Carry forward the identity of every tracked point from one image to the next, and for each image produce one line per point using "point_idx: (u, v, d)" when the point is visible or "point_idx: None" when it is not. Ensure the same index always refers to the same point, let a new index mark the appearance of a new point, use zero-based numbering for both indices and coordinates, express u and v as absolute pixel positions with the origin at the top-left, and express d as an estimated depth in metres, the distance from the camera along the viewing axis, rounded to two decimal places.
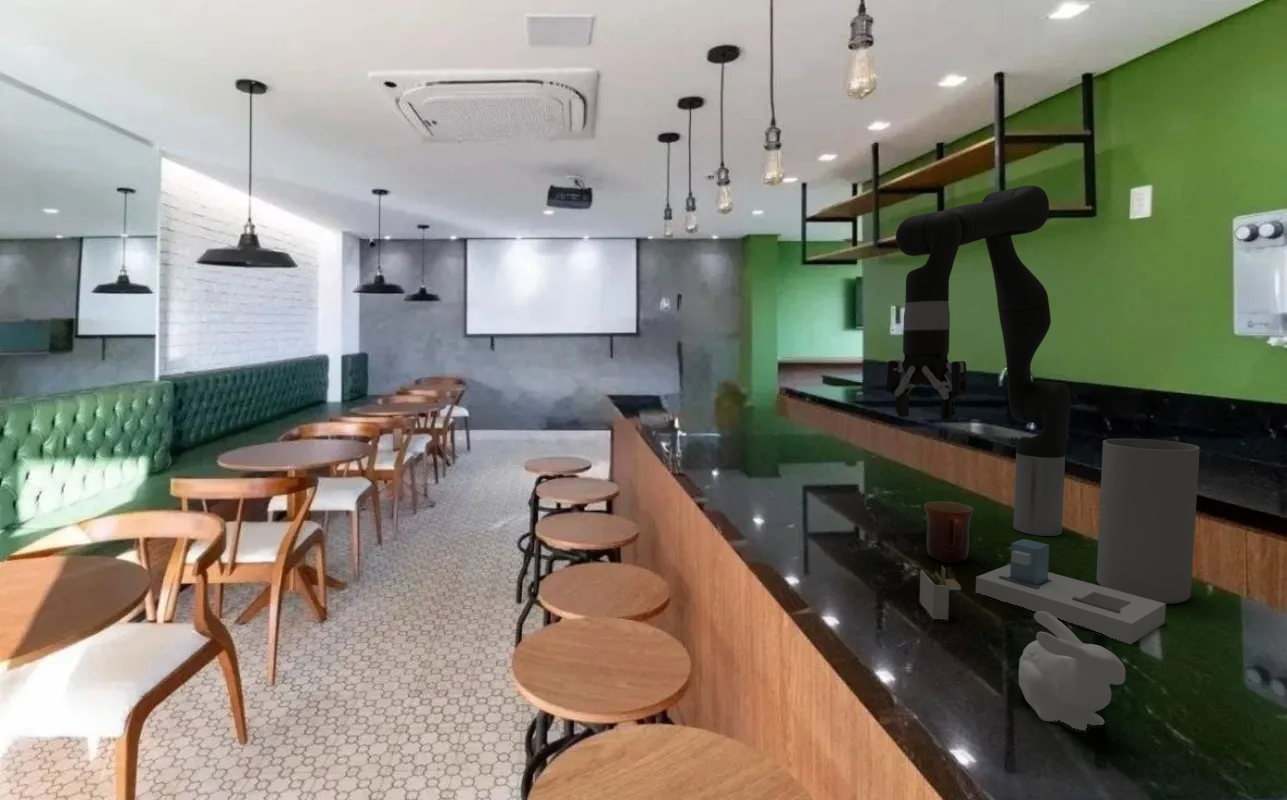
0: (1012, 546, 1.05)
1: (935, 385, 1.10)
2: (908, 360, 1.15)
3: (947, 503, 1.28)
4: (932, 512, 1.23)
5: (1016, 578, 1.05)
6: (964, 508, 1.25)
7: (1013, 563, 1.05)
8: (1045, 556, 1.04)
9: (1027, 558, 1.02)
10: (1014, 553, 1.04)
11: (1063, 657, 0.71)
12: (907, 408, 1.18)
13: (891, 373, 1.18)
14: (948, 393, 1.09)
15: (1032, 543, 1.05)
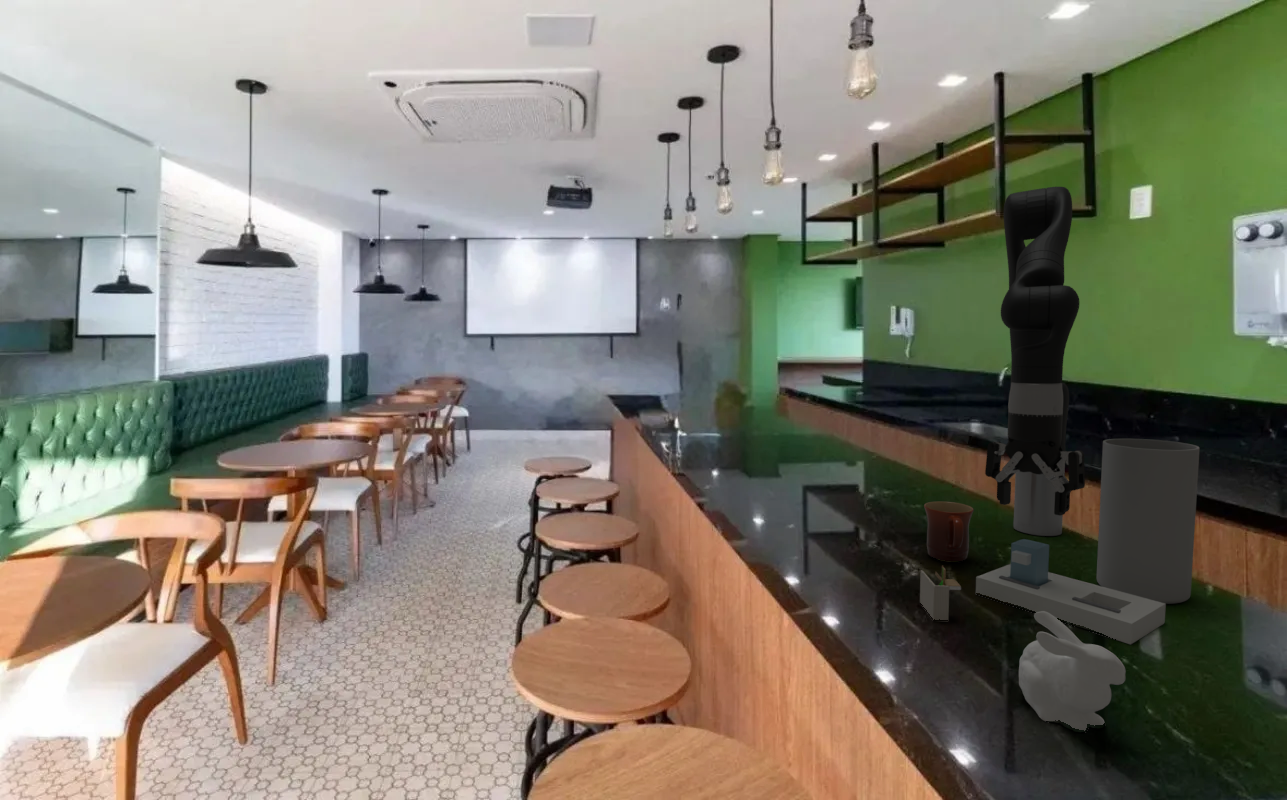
0: (1012, 546, 1.05)
1: (1048, 476, 1.00)
2: (1013, 444, 1.05)
3: (947, 503, 1.28)
4: (932, 512, 1.23)
5: (1016, 578, 1.05)
6: (964, 508, 1.25)
7: (1013, 563, 1.05)
8: (1045, 556, 1.04)
9: (1027, 558, 1.02)
10: (1014, 553, 1.04)
11: (1063, 657, 0.71)
12: (1009, 495, 1.08)
13: (991, 456, 1.08)
14: (1064, 485, 0.99)
15: (1032, 543, 1.05)
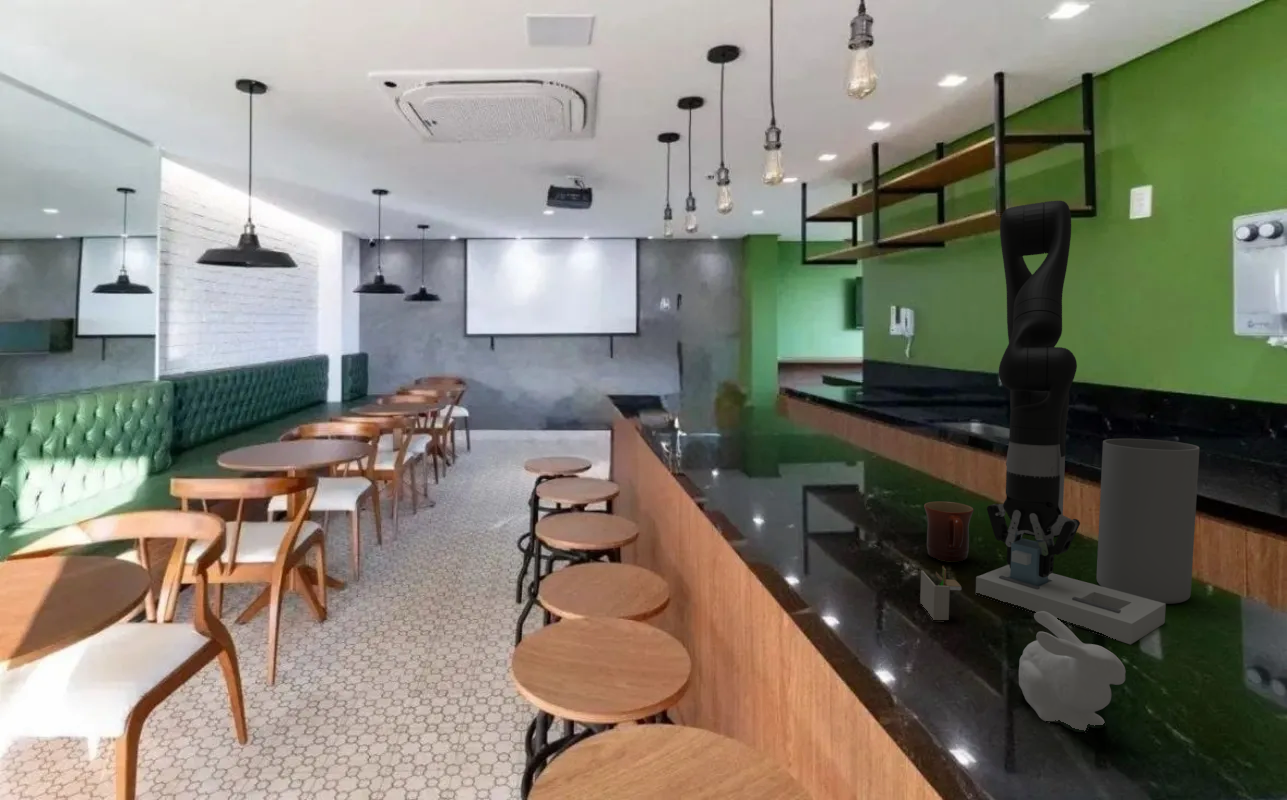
0: (1012, 546, 1.05)
1: (1038, 537, 1.02)
2: (1009, 501, 1.06)
3: (947, 503, 1.28)
4: (932, 512, 1.23)
5: (1016, 578, 1.05)
6: (964, 508, 1.25)
7: (1013, 563, 1.05)
8: None
9: (1027, 558, 1.02)
10: (1014, 553, 1.04)
11: (1063, 657, 0.71)
12: None
13: (994, 519, 1.08)
14: (1048, 550, 1.02)
15: (1032, 543, 1.05)
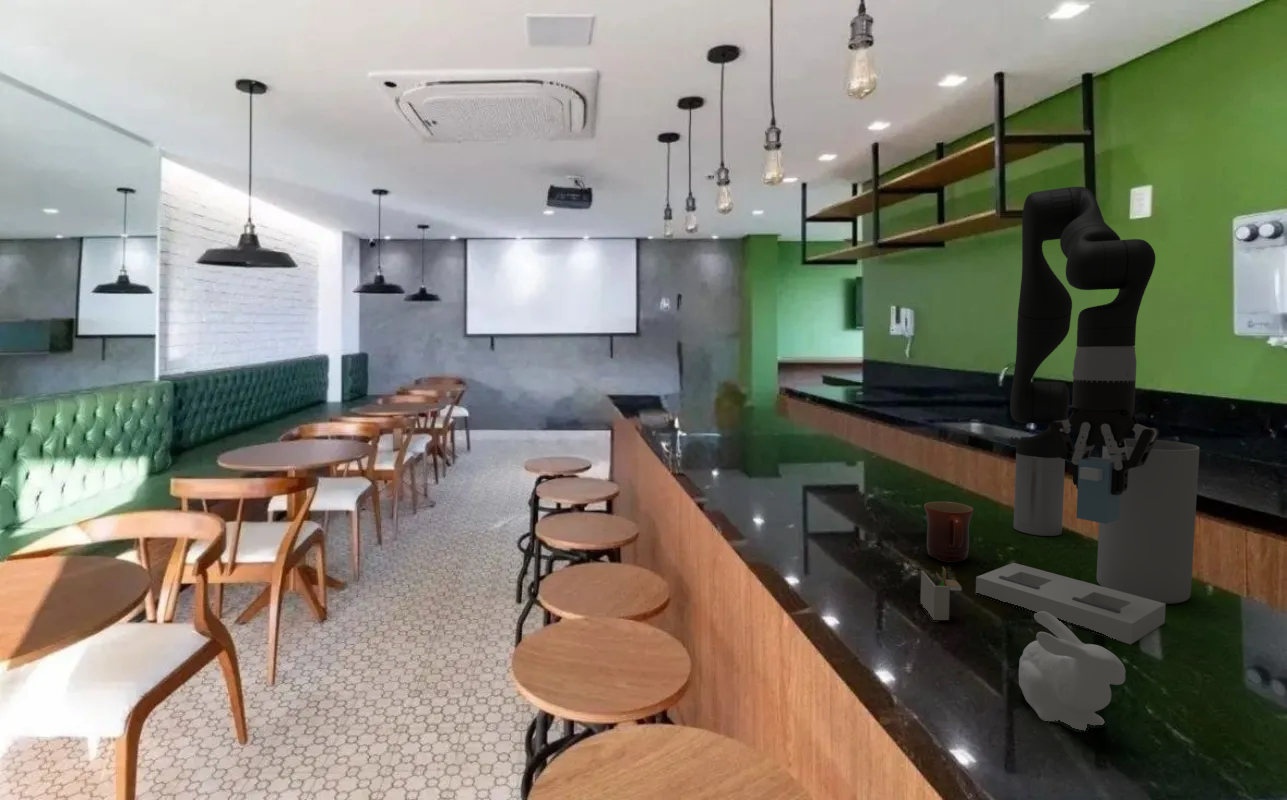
0: (1080, 463, 0.96)
1: (1110, 450, 0.93)
2: (1076, 414, 0.97)
3: (947, 503, 1.28)
4: (932, 512, 1.23)
5: (1084, 498, 0.95)
6: (964, 508, 1.25)
7: (1081, 481, 0.96)
8: None
9: (1098, 473, 0.93)
10: (1083, 469, 0.94)
11: (1063, 657, 0.71)
12: None
13: (1059, 436, 0.99)
14: (1123, 464, 0.92)
15: (1102, 459, 0.95)
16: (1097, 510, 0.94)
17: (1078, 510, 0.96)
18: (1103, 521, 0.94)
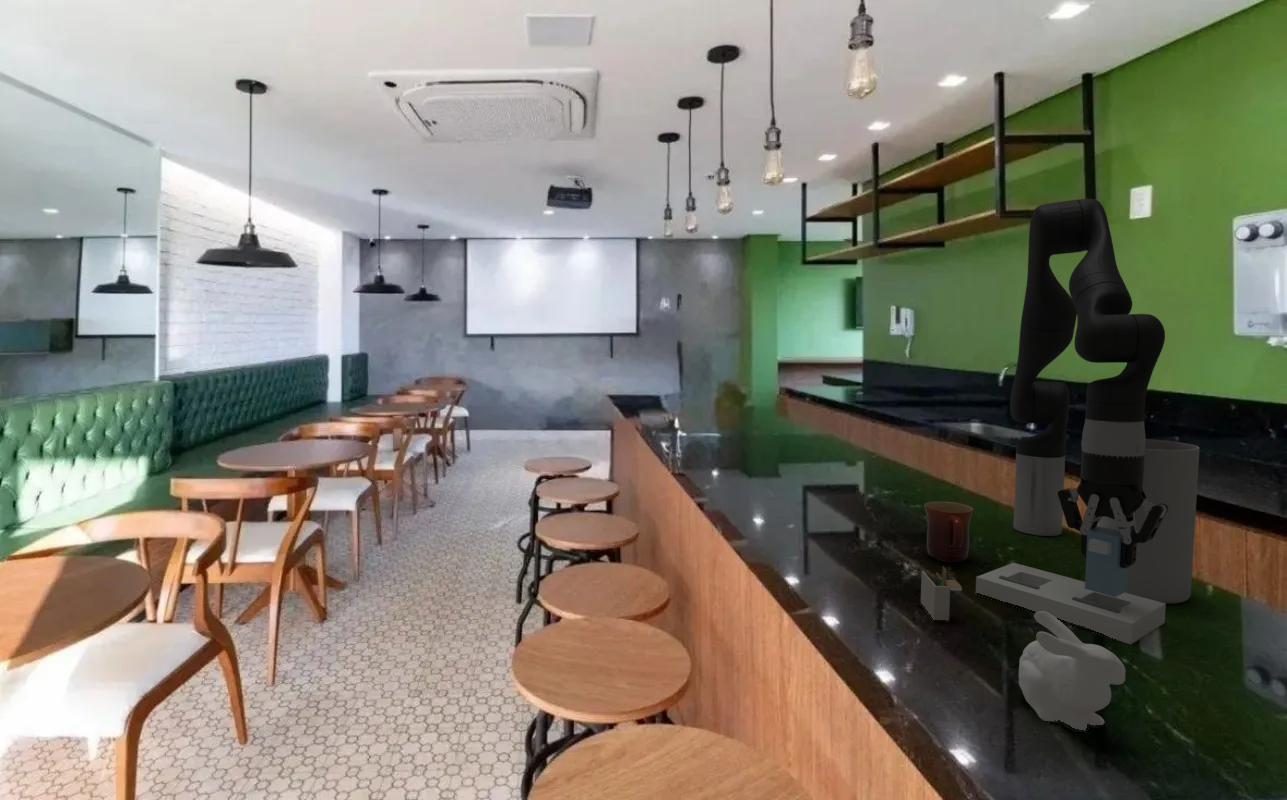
0: (1088, 534, 0.96)
1: (1119, 524, 0.93)
2: (1084, 484, 0.97)
3: (947, 503, 1.28)
4: (932, 512, 1.23)
5: (1093, 569, 0.96)
6: (964, 508, 1.25)
7: (1089, 553, 0.96)
8: None
9: (1108, 547, 0.93)
10: (1092, 541, 0.94)
11: (1063, 657, 0.71)
12: None
13: (1067, 505, 0.99)
14: (1131, 538, 0.92)
15: (1111, 531, 0.96)
16: (1106, 582, 0.94)
17: (1086, 581, 0.96)
18: (1112, 594, 0.94)
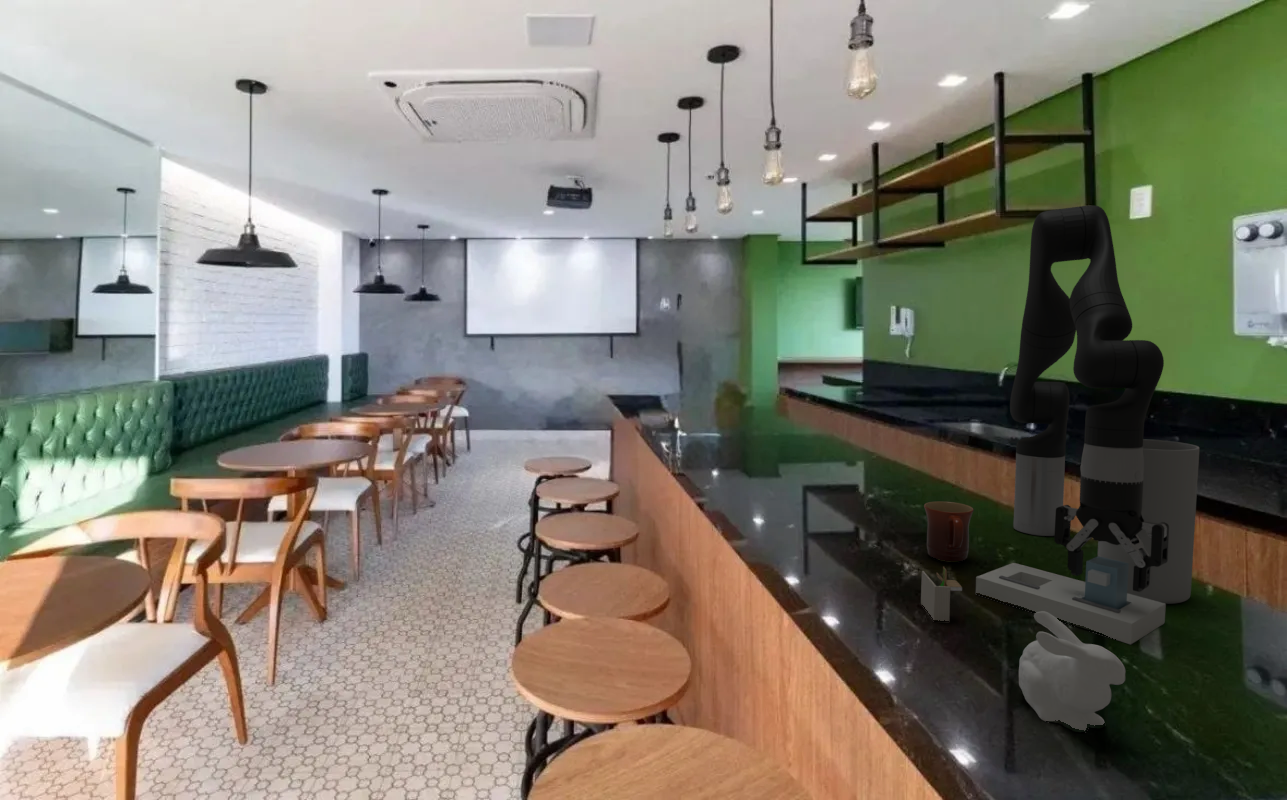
0: (1087, 565, 0.96)
1: (1127, 548, 0.92)
2: (1086, 510, 0.97)
3: (947, 503, 1.28)
4: (932, 512, 1.23)
5: (1092, 600, 0.96)
6: (964, 508, 1.25)
7: (1088, 583, 0.96)
8: (1125, 576, 0.95)
9: (1107, 578, 0.93)
10: (1091, 573, 0.95)
11: (1063, 657, 0.71)
12: (1081, 564, 0.99)
13: (1061, 522, 1.00)
14: (1144, 560, 0.91)
15: (1109, 561, 0.96)
16: None
17: None
18: None
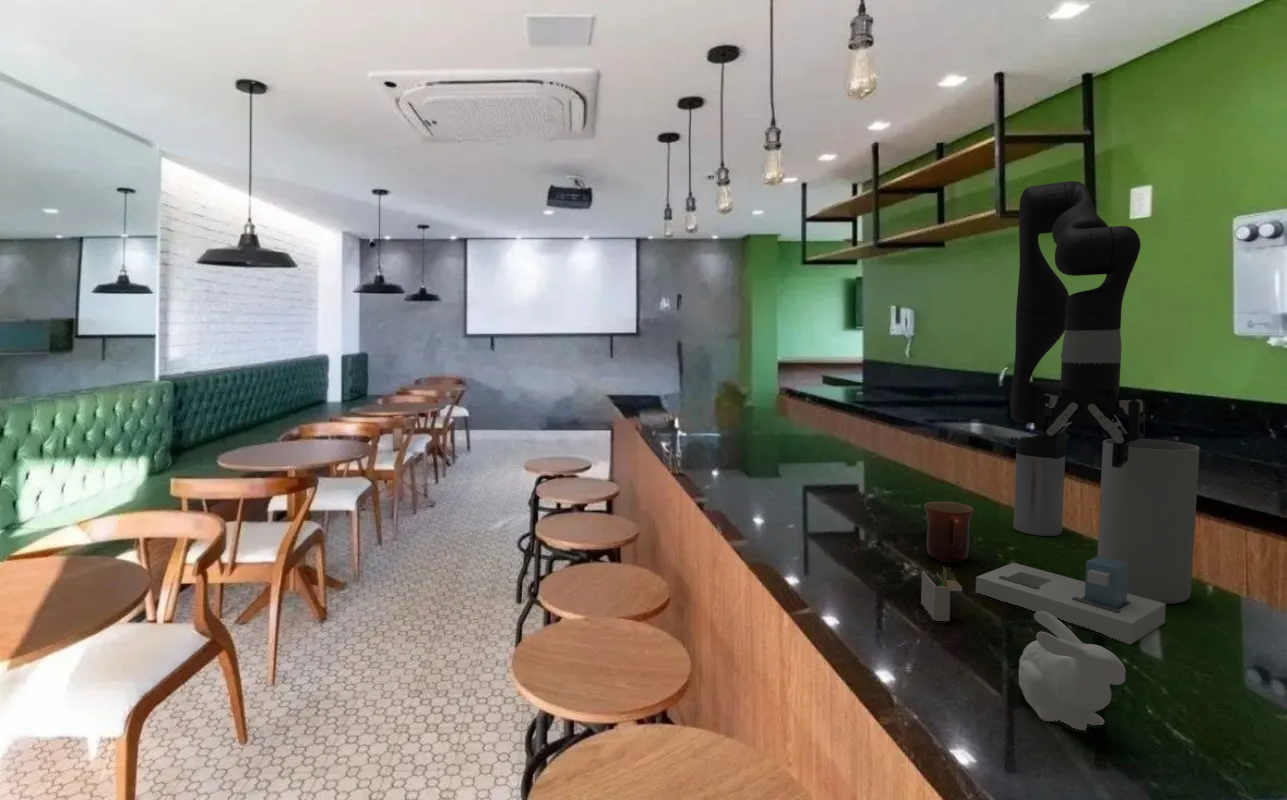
0: (1087, 565, 0.96)
1: (1106, 426, 0.96)
2: (1066, 395, 1.01)
3: (947, 503, 1.28)
4: (932, 512, 1.23)
5: (1092, 600, 0.96)
6: (964, 508, 1.25)
7: (1088, 583, 0.96)
8: (1124, 576, 0.95)
9: (1107, 578, 0.93)
10: (1091, 573, 0.95)
11: (1063, 657, 0.71)
12: (1060, 449, 1.04)
13: (1042, 409, 1.04)
14: (1123, 436, 0.95)
15: (1109, 561, 0.96)
16: None
17: None
18: None
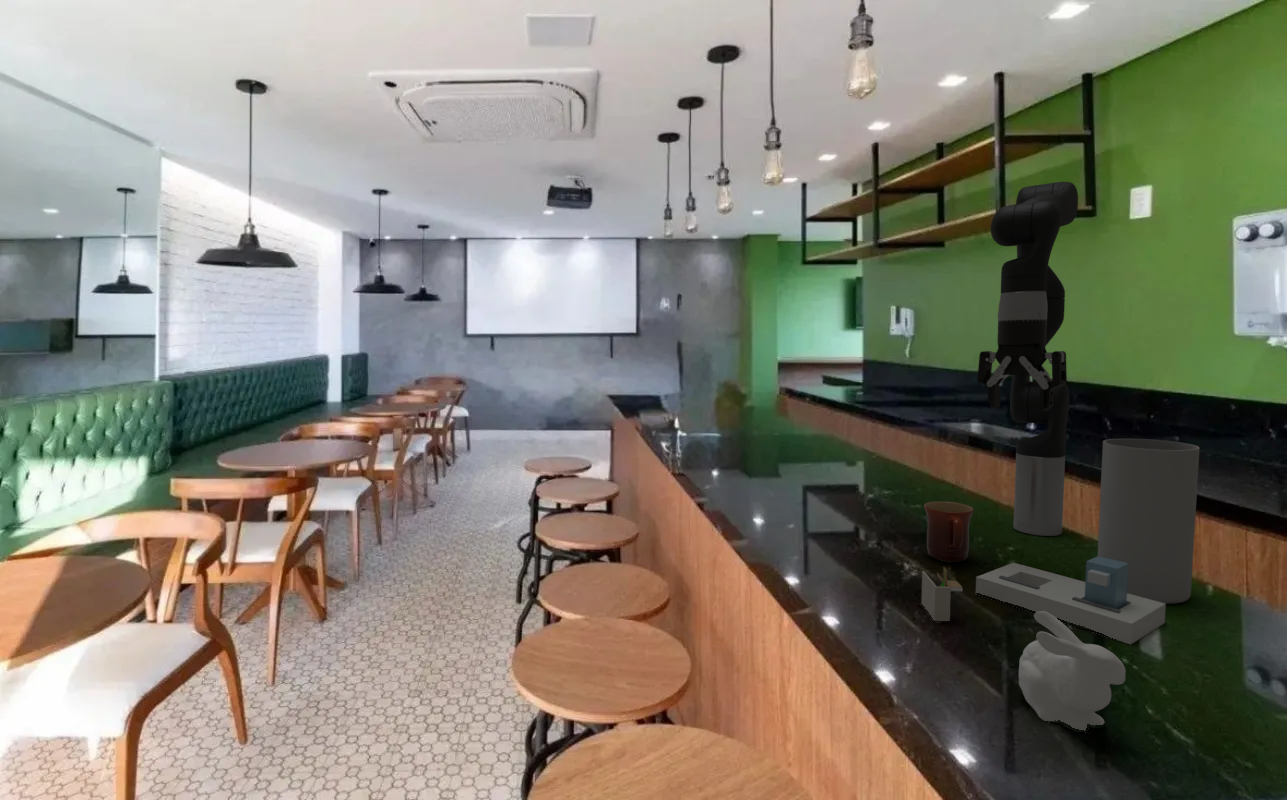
0: (1087, 565, 0.96)
1: (1034, 375, 1.11)
2: (1002, 350, 1.15)
3: (947, 503, 1.28)
4: (932, 512, 1.23)
5: (1092, 600, 0.96)
6: (964, 508, 1.25)
7: (1088, 583, 0.96)
8: (1124, 576, 0.95)
9: (1107, 578, 0.93)
10: (1091, 573, 0.95)
11: (1063, 657, 0.71)
12: (999, 399, 1.18)
13: (983, 364, 1.19)
14: (1048, 383, 1.10)
15: (1109, 561, 0.96)
16: None
17: None
18: None
